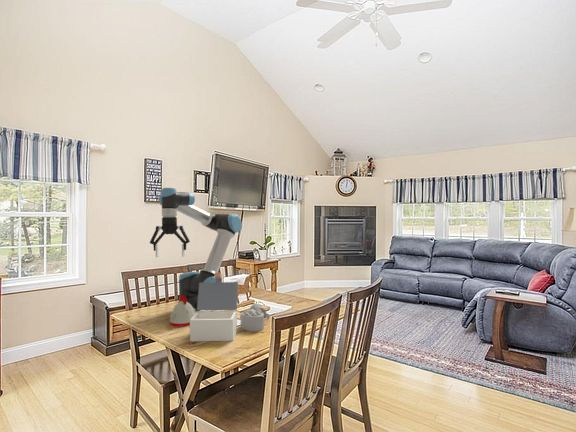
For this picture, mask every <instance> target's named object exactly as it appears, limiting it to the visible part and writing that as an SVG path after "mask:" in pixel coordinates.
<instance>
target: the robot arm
mask: <svg viewBox="0 0 576 432" xmlns="http://www.w3.org/2000/svg"><path fill="white" fill-rule="evenodd" d="M160 193H161V194H160V195H159V196H158V203H159V204H160V206H161V226H160V225H156V226H155V229H154V230H155V231H154V233H153V235H152V237H151V239H150V241H149V244H151V245H153V251H154V252H155V258H158V257H160V256H159V254H160V253H159V244H158V243H159V242H160V241H161V239H163V237H164V235H174V236H175V237H177V238H178V239H179V240H180V242H181V243H182V244H181V257H185V251H186V250H187V244H189V243H190V239H189V237H188V235H187V233H186V232H185V229H184V226H183V225H178V218H177V216H178V214H177V213H178V212H179V213H181V214H183V215H185V216H187V217H189V218H191V219H193V220H195V221H197V222H199V223H200V224H201V225H202V226H204V227H205V228H208V229H209V230H212V231H216V232H217V235H216V238H215V240H214V243H213V246H212V247H211V250H210V252H209V255H208V257H207V260H206V263H205V265H204V268H202V269H200V271H196V270H195V271H189V272H184V273H180V274H179V276H178V290H179V291H178V293H179V294H178V295H179V298H180V297H181V295H183V296H184V297H185V296H186V299H187V302H188V303H190V304H191V305H192V307H193V308H195V310H196V312H197V311H201V310H197V304H198V292H199V283H214V282H216V278H215V277H214V274H215V273H219V270H220V268H221V265H222V262H223V260H224V257H225V254H226V252H227V249H228V247H229V244H230V241H231V239H233V238H234V237H235V235H236V233H239V232H240V231H241V229H242V228H243V227H242V226H243V225H242V221H241V220H242V219H241V217H240V216H239V215H238V214H235V213H214V212H211V211H206V210H204V209H202V208H200V207H198V206H196V205H194V204H195V201H196V198H195V197H196V196H195V194H194V193H193V192H189V191H177V188H175V187H162V189H161V192H160ZM160 230H161V231H162V232H161V233H160V234H159V232H160ZM177 230H179V231H180V232H181V234H182V235H183V237H182V236H181V235H180V233H179V232H178V231H177ZM158 234H159V236H158ZM157 236H158V237H157ZM179 302H180V300H179V299H178V301H177V304H178V303H179Z"/></svg>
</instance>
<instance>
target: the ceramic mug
mask: <svg viewBox="0 0 576 432" xmlns="http://www.w3.org/2000/svg"><path fill="white" fill-rule="evenodd" d="M249 309H254V310H257V309H260V310H261V312H262V313H263V314H264V319H265V318H267V319H270V318H271V317H270V316H271V315H270V314H269V313H267V310H266V309H265V308H264V306H262V305H260V304H259V303H254V304H252V305H251V306H250V307H249Z"/></svg>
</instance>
